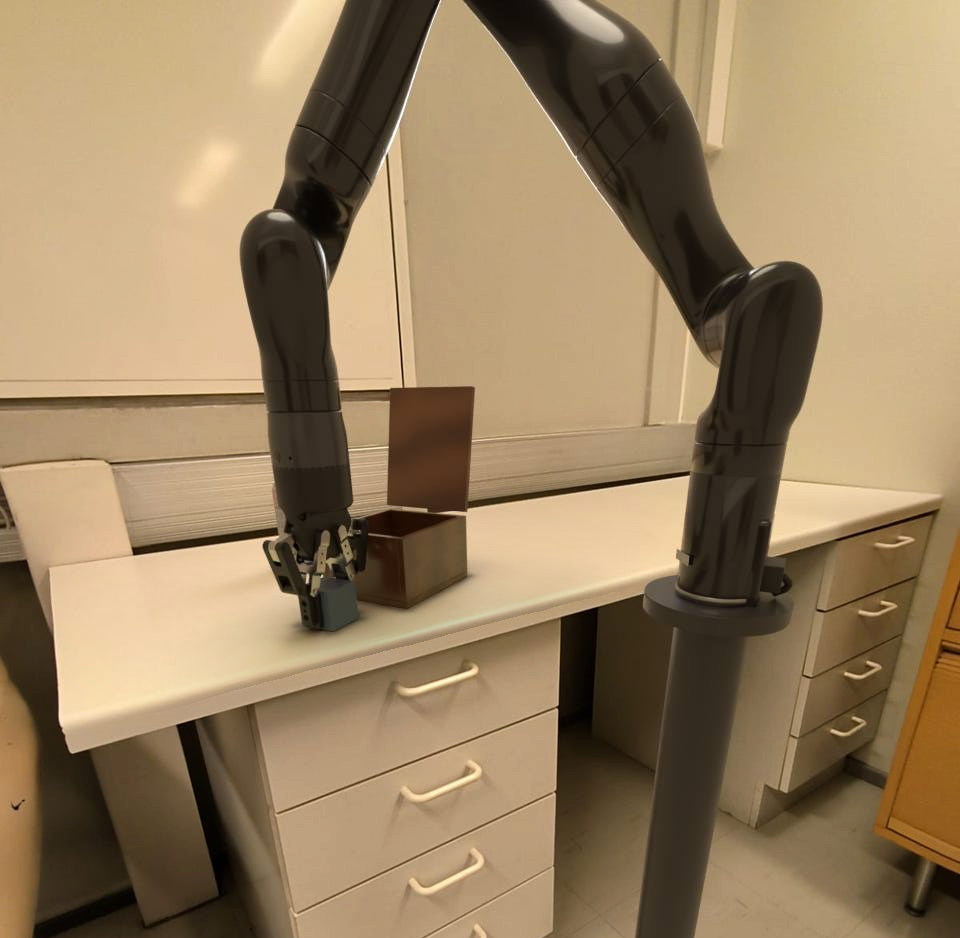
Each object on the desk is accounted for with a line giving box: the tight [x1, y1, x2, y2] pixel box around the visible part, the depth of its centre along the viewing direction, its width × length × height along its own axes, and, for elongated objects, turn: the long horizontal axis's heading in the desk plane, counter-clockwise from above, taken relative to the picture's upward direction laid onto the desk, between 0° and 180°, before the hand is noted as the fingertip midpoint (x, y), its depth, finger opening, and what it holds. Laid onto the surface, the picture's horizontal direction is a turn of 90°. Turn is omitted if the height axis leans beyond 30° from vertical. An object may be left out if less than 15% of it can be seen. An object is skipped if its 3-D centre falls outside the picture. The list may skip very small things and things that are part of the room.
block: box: [297, 576, 359, 632], centre depth 64 cm, size 4×4×4 cm
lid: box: [386, 385, 476, 513], centre depth 78 cm, size 15×13×1 cm
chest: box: [322, 508, 469, 610], centre depth 75 cm, size 15×13×8 cm
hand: (330, 619), depth 65 cm, fingers closed on block, 4 cm apart
